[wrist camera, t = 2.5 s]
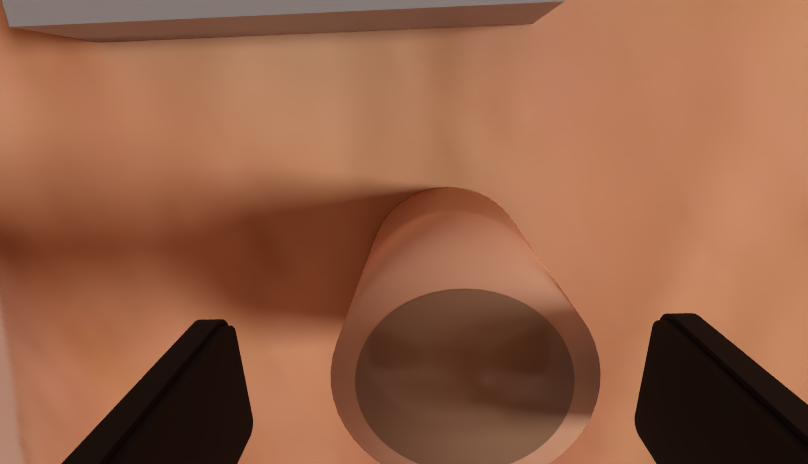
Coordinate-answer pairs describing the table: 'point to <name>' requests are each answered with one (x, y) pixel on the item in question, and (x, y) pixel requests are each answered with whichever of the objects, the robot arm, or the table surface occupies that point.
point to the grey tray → (258, 16)
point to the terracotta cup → (461, 342)
